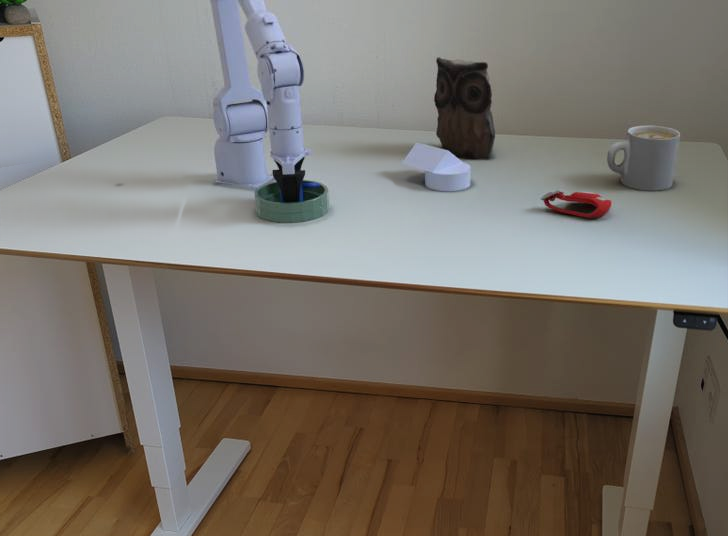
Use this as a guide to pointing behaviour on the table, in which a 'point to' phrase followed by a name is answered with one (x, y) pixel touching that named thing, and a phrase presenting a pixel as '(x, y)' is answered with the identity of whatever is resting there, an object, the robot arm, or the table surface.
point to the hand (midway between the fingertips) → (292, 201)
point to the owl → (464, 108)
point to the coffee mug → (647, 157)
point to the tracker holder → (582, 198)
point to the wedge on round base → (439, 168)
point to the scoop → (303, 185)
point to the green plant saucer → (291, 204)
